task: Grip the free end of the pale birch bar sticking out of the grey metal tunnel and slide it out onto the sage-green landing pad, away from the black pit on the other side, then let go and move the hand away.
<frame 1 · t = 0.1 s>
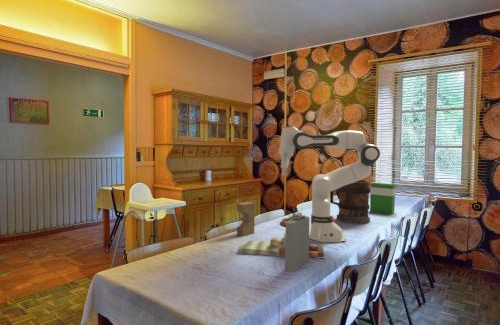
hand: (283, 174, 204), 39 cm above the table, tool pointing down, fingers open, 8 cm apart
plant: (294, 224, 237), on the table
tunnel: (291, 241, 177), on the track deck, point 6 cm above the table
track deck: (291, 251, 177), on the table
decorative block: (245, 234, 211), on the table
wooden tankard: (349, 219, 251), on the table
hardback book: (382, 212, 277), on the table
flask: (296, 265, 158), on the table
birch bar: (285, 246, 178), point 2 cm above the table, touching track deck
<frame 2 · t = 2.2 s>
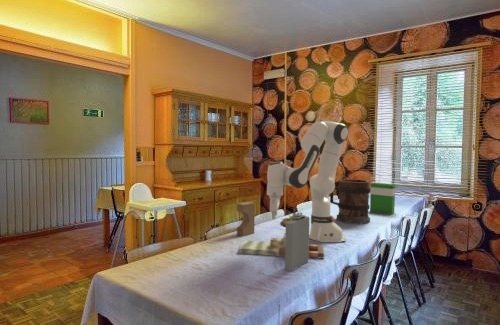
hand: (274, 217, 177), 19 cm above the table, tool pointing down, fingers open, 8 cm apart
nothing on the table moved.
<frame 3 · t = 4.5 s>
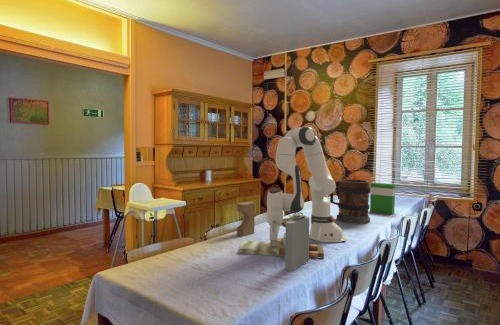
hand: (274, 243, 179), 4 cm above the table, tool pointing down, fingers closed on birch bar, 4 cm apart
birch bar: (285, 246, 178), point 3 cm above the table, touching gripper, track deck
everything else where it was.
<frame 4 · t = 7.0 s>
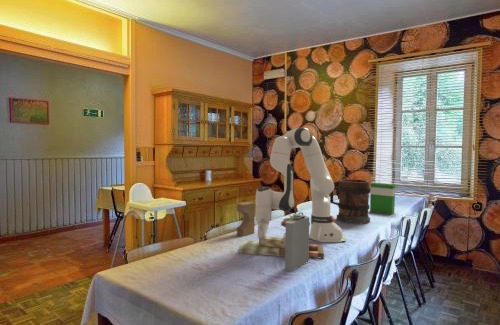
hand: (263, 241, 179), 5 cm above the table, tool pointing down, fingers closed on birch bar, 4 cm apart
birch bar: (273, 245, 179), point 3 cm above the table, touching gripper
everything else where it was.
when the fingers open (5 cm above the table, at t = 9.9 s): birch bar stays where it is, resting on track deck.
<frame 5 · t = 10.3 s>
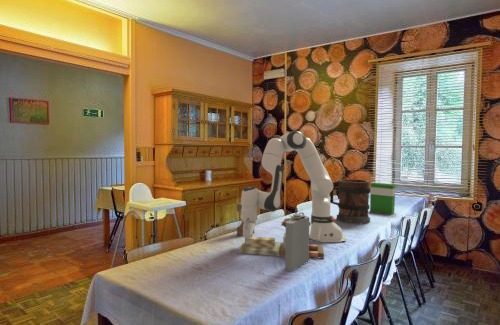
hand: (249, 241, 181), 5 cm above the table, tool pointing down, fingers open, 8 cm apart
birch bar: (260, 245, 180), point 2 cm above the table, touching track deck
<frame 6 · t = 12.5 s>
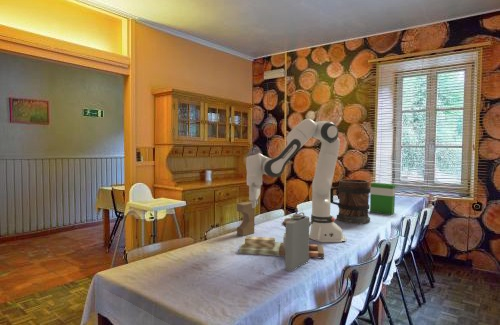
hand: (255, 206, 186), 23 cm above the table, tool pointing down, fingers open, 8 cm apart
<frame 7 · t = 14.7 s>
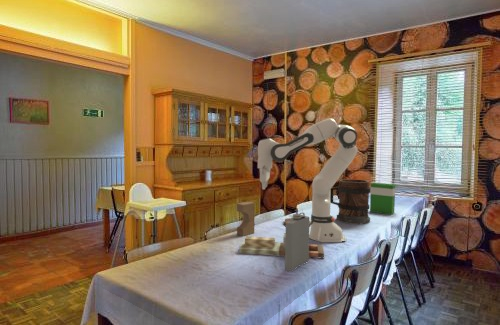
hand: (264, 188, 199), 31 cm above the table, tool pointing down, fingers open, 8 cm apart
at the end: birch bar inside the target area on the track deck (1.6 cm from its centre), point 2.5 cm above the track deck's base; the gripper is holding nothing; birch bar tilted 0° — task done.
